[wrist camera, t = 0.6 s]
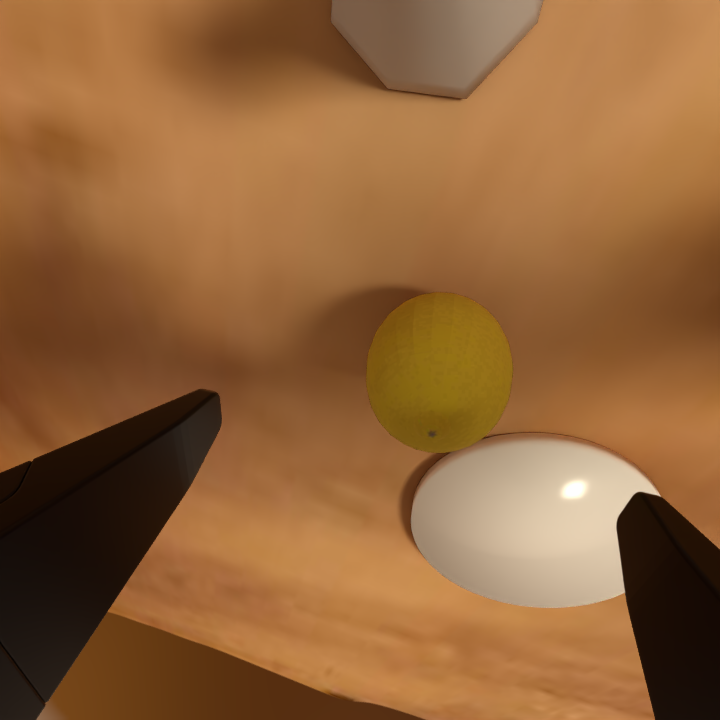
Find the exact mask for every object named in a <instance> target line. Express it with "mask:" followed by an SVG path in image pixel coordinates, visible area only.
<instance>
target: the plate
mask: <svg viewBox="0 0 720 720" xmlns="http://www.w3.org/2000/svg"><path fill="white" fill-rule="evenodd" d="M637 492H645V493H650V494H654V495H658V496H660V494H659V492H658V490H657V488H656V487H655V485H654V483H653V482H652V481H651V480H650V479H649V477H648V476H647V475H646V474H645V473H644V472H643V471H642V470H641V469H640V468H639V467H637V466H636V465H635V464H634V463H633V462H631V461H630V460H628V459H627V458H625V457H624V456H622V455H621V454H619V453H616V452H614V451H612V450H610V449H608V448H606V447H604V446H601V445H599V444H596V443H593V442H590V441H587V440H583V439H579V438H575V437H571V436H566V435H559V434H552V433H533V432H530V433H512V434H505V435H498V436H493V437H489V438H485V439H481V440H479V441H478V442H476V443H474V444H473V445H471V446H469V447H466V448H463V449H460V450H457V451H452V452H450V453H449V454H447V455H446V456H444V457H443V458H441V459H440V460H438V461H437V462H436V463H435V464H434V465H433V466H432V467H431V468H430V469H429V470H428V471H427V472H426V474H425V475H424V476H423V477H422V479H421V481H420V483H419V484H418V486H417V488H416V491H415V494H414V498H413V506H412V514H411V530H412V533H413V537H414V540H415V542H416V545H417V547H418V549H419V550H420V552H421V553H422V555H423V556H424V558H425V559H426V560H427V561H428V562H429V563H430V565H431V566H432V567H433V568H435V569H436V570H437V571H438V572H439V573H440V574H442V575H443V576H444V577H446V578H447V579H449V580H450V581H452V582H453V583H455V584H457V585H458V586H460V587H462V588H464V589H466V590H468V591H471V592H473V593H475V594H478V595H480V596H483V597H486V598H489V599H493V600H496V601H499V602H504V603H509V604H513V605H520V606H527V607H540V608H562V607H574V606H581V605H588V604H592V603H596V602H601V601H604V600H607V599H610V598H613V597H616V596H619V595H621V594H623V593H625V590H624V582H623V575H622V567H621V560H620V552H619V545H618V537H617V530H616V523H617V519H618V516H619V515H620V513H621V512H622V510H623V509H624V507H625V506H626V505H627V503H628V502H629V500H630V499H631V497H632V496H633V495H634V494H635V493H637ZM660 497H661V496H660Z"/></svg>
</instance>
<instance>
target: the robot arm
mask: <svg viewBox="0 0 720 720" xmlns="http://www.w3.org/2000/svg"><path fill="white" fill-rule="evenodd" d="M221 423H222V416H221V404H220V396H219V394H218V393H217V392H215V391H210V390H206V389H198V390H196V391H193V392H191V393H189V394H186V395H184V396H182V397H179V398H177V399H175V400H172V401H170V402H167V403H165V404H163V405H160V406H158V407H156V408H153V409H151V410H149V411H146V412H144V413H141V414H139V415H137V416H134V417H132V418H130V419H127V420H125V421H123V422H120V423H118V424H115V425H113V426H111V427H108V428H106V429H104V430H101V431H99V432H96V433H94V434H92V435H89V436H87V437H85V438H82V439H80V440H78V441H75V442H73V443H70V444H68V445H66V446H63V447H61V448H59V449H56V450H54V451H51V452H49V453H47V454H44V455H42V456H40V457H37V458H35V459H33V461H32V462H31V461H28V462H25V463H23V464H21V465H18V466H16V467H13V468H11V469H9V470H6V471H4V472H1V473H0V720H36V719H37V717H38V716H39V715H40V713H41V712H42V710H43V709H44V707H45V705H46V704H45V703H46V702H47V701H49V699H50V697H51V696H52V694H53V693H54V691H55V690H56V688H57V687H58V685H59V684H60V682H61V681H62V679H63V678H64V676H65V675H66V673H67V672H68V670H69V669H70V667H71V666H72V664H73V663H74V661H75V659H76V658H77V657H78V655H79V654H80V652H81V651H82V649H83V648H84V646H85V644H86V643H87V642H88V640H89V639H90V637H91V636H92V634H93V633H94V631H95V630H96V628H97V627H98V625H99V623H100V622H101V621H102V619H103V618H104V616H105V615H106V613H107V611H108V610H109V608H110V607H111V605H112V604H113V602H114V601H115V599H116V598H117V596H118V595H119V593H120V592H121V590H122V589H123V587H124V586H125V584H126V583H127V581H128V580H129V578H130V577H131V575H132V574H133V572H134V571H135V569H136V568H137V566H138V565H139V563H140V562H141V560H142V559H143V557H144V556H145V554H146V553H147V551H148V550H149V548H150V547H151V545H152V544H153V542H154V541H155V539H156V538H157V536H158V535H159V533H160V532H161V530H162V529H163V527H164V525H165V524H166V522H167V521H168V519H169V518H170V516H171V515H172V513H173V512H174V510H175V509H176V507H177V506H178V504H179V503H180V501H181V500H182V498H183V497H184V495H185V494H186V492H187V491H188V489H189V487H190V486H191V484H192V482H193V480H194V478H195V477H196V475H197V473H198V471H199V469H200V467H201V465H202V463H203V461H204V459H205V457H206V455H207V453H208V451H209V449H210V447H211V446H212V444H213V442H214V440H215V438H216V436H217V434H218V432H219V430H220V427H221ZM616 530H617V537H618V545H619V552H620V560H621V567H622V575H623V582H624V590H625V596H626V602H627V606H628V611H629V615H630V619H631V623H632V628H633V632H634V636H635V640H636V644H637V648H638V652H639V656H640V660H641V664H642V668H643V672H644V676H645V680H646V684H647V688H648V692H649V696H650V700H651V704H652V708H653V712H654V716H655V720H720V549H719V548H718V547H716V546H715V545H714V544H713V543H712V542H711V541H710V540H709V539H708V538H707V537H705V536H704V535H703V534H702V533H701V532H700V531H699V530H698V529H697V528H696V527H694V526H693V525H692V524H691V523H690V522H689V521H688V520H687V519H686V518H685V517H683V516H682V515H681V514H680V513H679V512H678V511H677V510H676V509H675V508H674V507H672V506H671V505H670V504H669V503H668V502H667V501H666V500H665V499H664V498H662V497H660V496H658V495H654V494H650V493H645V492H637V493H635V494H634V495H633V496H632V497H631V499H630V500H629V502H628V503H627V505H626V506H625V507H624V509H623V510H622V512H621V513H620V515H619V516H618V519H617V523H616Z"/></svg>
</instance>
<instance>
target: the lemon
mask: <svg viewBox="0 0 720 720" xmlns="http://www.w3.org/2000/svg"><path fill="white" fill-rule="evenodd" d="M512 377H513V362H512V357H511V352H510V346H509V343H508V340H507V338H506V336H505V334H504V332H503V330H502V329H501V327H500V325H499V323H498V322H497V320H496V319H495V318H494V317H493V316H492V315H491V314H490V313H489V312H488V311H487V310H486V309H485V308H484V307H483V306H481V305H480V304H478V303H476V302H475V301H473V300H471V299H470V298H467V297H464V296H461V295H457V294H454V293H443V292H434V293H428V294H422V295H419V296H417V297H414V298H412V299H410V300H407V301H405V302H404V303H402V304H401V305H400V306H399V307H397V308H396V309H395V310H393V311H392V312H391V313H390V314H389V315H388V316H387V317H386V319H385V320H384V321H383V323H382V324H381V325H380V327H379V328H378V330H377V331H376V333H375V336H374V338H373V341H372V344H371V346H370V349H369V352H368V357H367V368H366V386H367V391H368V396H369V400H370V404H371V407H372V409H373V411H374V413H375V415H376V417H377V419H378V420H379V422H380V423H381V425H382V426H383V427H384V428H385V429H386V430H387V431H388V432H389V434H390V435H392V436H393V437H394V438H396V439H397V440H399V441H400V442H402V443H403V444H405V445H407V446H410V447H412V448H414V449H417V450H421V451H425V452H432V453H446V452H452V451H457V450H460V449H463V448H466V447H469V446H471V445H473V444H474V443H476V442H478V441H479V440H481V439H482V438H484V437H485V436H486V435H487V434H488V433H489V432H490V431H491V430H492V429H493V427H494V426H495V425H496V424H497V422H498V421H499V420H500V417H501V415H502V413H503V411H504V409H505V407H506V405H507V402H508V400H509V396H510V391H511V384H512Z"/></svg>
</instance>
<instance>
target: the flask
mask: <svg viewBox="0 0 720 720" xmlns="http://www.w3.org/2000/svg"><path fill="white" fill-rule="evenodd" d="M542 3H543V0H332V9H331V23H332V24H333V25H334V26H335V27H336V29H337V30H338V31H339V32H340V33H341V35H342V36H343V37H344V38H345V39H346V40H347V42H348V43H349V44H350V45H351V46H352V47H353V49H354V50H355V51H356V52H357V53H358V54H359V56H360V57H361V58H362V59H363V60H364V62H365V63H366V64H367V65H368V66H369V67H370V69H371V70H372V71H373V72H374V73H375V74H376V76H377V77H378V78H379V79H380V80H381V82H382V83H383V84H384V85H385V86H386V87H387V89H394V90H401V91H409V92H417V93H424V94H432V95H439V96H447V97H455V98H462V99H467V98H468V97H469V95H470V94H471V93H472V92H473V91H474V90H475V89H476V88H477V87H478V86H479V85H480V84H481V83H482V82H483V80H484V79H485V78H486V77H487V76H488V75H489V74H490V73H491V72H492V71H493V70H494V69H495V68H496V66H497V65H498V64H499V63H500V62H501V61H502V60H503V59H504V58H505V57H506V56H507V55H508V54H509V52H510V51H511V50H512V49H513V48H514V47H515V46H516V45H517V44H518V43H519V42H520V41H521V40H522V39H523V37H524V36H525V35H526V34H527V33H528V32H529V31H530V30H531V29H532V28H533V27H534V26H535V25H536V23H537V22H538V18H539V14H540V11H541V7H542Z"/></svg>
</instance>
